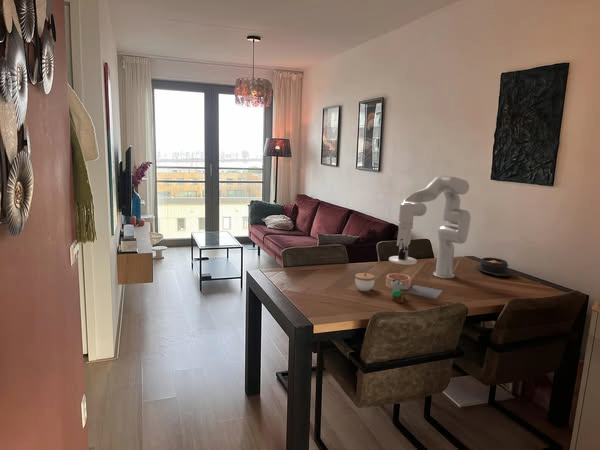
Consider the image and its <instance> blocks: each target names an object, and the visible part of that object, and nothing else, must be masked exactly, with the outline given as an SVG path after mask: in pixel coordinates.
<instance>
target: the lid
mask: <svg viewBox="0 0 600 450" xmlns="http://www.w3.org/2000/svg"><path fill="white" fill-rule="evenodd" d="M408 254H409V249H408V250H405V259H399V255H392V256H389V258H388V261H389V262H390V263H393V264H396V265H405V266H407V265H411V266H412V265H416V264H417V262H418V260H417V259H416V258H413V257H410V256H409V255H408Z"/></svg>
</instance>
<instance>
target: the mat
mask: <svg viewBox="0 0 600 450" xmlns="http://www.w3.org/2000/svg"><path fill="white" fill-rule="evenodd" d="M443 292H444V290H441V289H437V288H432V287H428V286H427V287H426V286H421V285H417V284H416V285H415V284H414V285H412V286H410V288H409V289H407V290H406V294H410V295H415V296H420V297H426V298H429V299H435V300H437V298H438V297H439V296H440V295H441V294H442V293H443Z"/></svg>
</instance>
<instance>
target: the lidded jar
mask: <svg viewBox="0 0 600 450" xmlns="http://www.w3.org/2000/svg"><path fill="white" fill-rule="evenodd" d="M354 277H355V279H354V280H355V285H356V287H357V289H358V290H359V291H361V292H370V290H371V289H372V288H373V287H374V285H375V279H376V276H375V275H374V274H371V273H367V272H360V273H355V275H354Z"/></svg>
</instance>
